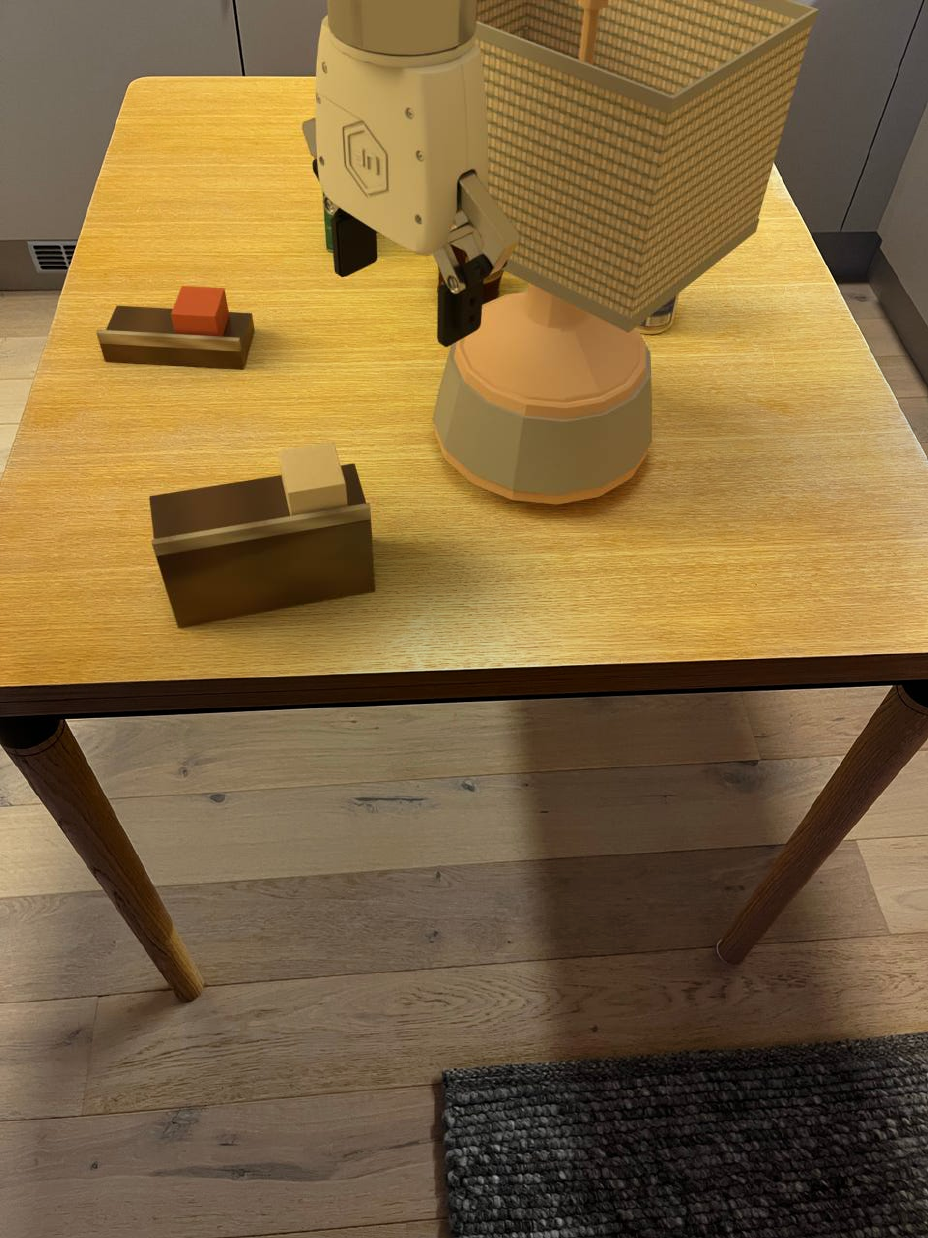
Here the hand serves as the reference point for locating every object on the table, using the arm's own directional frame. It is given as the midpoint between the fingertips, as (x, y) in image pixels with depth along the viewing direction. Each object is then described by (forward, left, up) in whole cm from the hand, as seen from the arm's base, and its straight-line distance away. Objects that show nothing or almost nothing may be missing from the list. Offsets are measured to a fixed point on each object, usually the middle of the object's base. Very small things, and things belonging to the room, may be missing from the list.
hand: (406, 301), depth 64 cm
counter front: (-10, +5, -22) cm, 25 cm away
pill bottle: (+38, 0, -22) cm, 44 cm away
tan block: (-7, +3, -14) cm, 16 cm away
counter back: (+6, +32, -22) cm, 40 cm away
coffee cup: (+30, +16, -22) cm, 41 cm away
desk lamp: (+16, -2, -22) cm, 27 cm away
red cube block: (+7, +30, -20) cm, 37 cm away
